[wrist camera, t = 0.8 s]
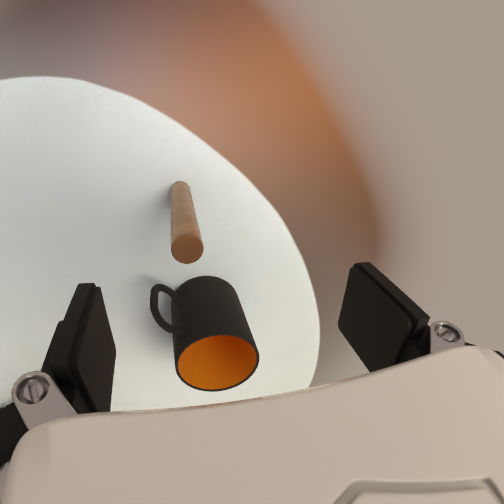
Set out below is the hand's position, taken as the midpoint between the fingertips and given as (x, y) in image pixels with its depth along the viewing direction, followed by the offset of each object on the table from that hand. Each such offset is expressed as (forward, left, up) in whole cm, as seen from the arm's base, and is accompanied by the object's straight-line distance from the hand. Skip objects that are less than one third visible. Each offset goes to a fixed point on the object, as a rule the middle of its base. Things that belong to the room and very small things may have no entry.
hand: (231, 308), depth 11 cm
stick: (+2, -1, -23) cm, 23 cm away
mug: (+15, 0, -23) cm, 27 cm away
